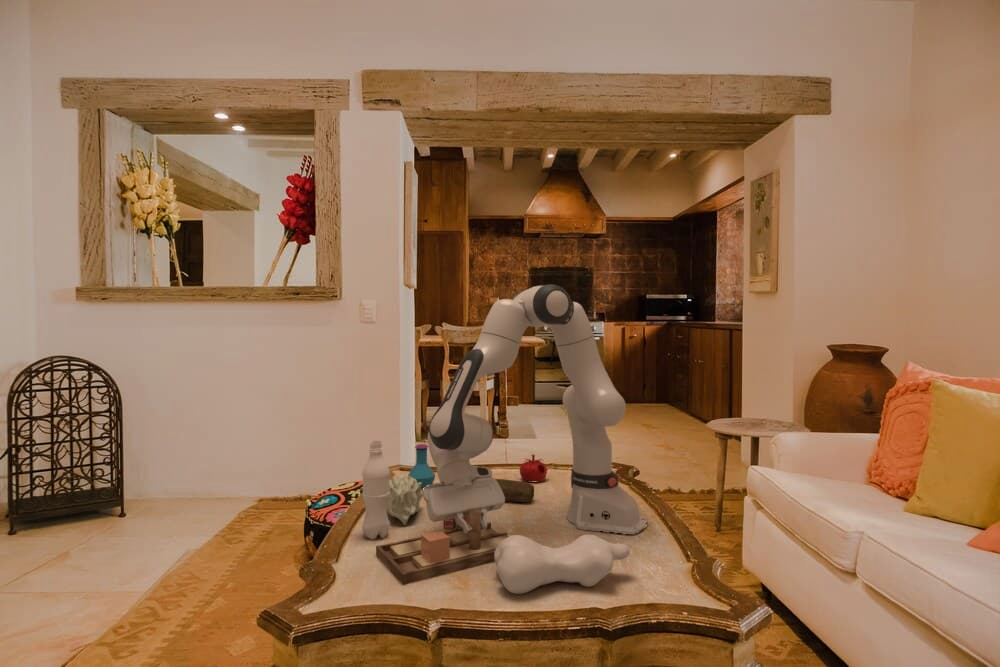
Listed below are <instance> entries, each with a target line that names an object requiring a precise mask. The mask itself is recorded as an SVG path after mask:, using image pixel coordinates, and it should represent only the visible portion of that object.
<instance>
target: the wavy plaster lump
mask: <svg viewBox="0 0 1000 667" xmlns="http://www.w3.org/2000/svg"><path fill="white" fill-rule="evenodd" d="M421 485H422V482H419V483H417V481H416V479H414V478H412V477H410V476H408V475H405V474H404V476H403V477H400V476H398V475H396V474H395V475H393V476H392V478H391V479H390V478H389V491H390V497H389V500H388V504H387V514H388V515H389V516H391V517H393V518H397V519H398V520H399V521H400V522H401V523H402V524H403V526H407V524H408V521H409V519H410V516H413V515H414V514H415V513H418V512H419V509H420V508H419V507H420V501H421V499H422V497H423V494H422V491H421Z"/></svg>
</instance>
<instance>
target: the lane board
mask: <svg viewBox="0 0 1000 667" xmlns="http://www.w3.org/2000/svg"><path fill="white" fill-rule="evenodd" d="M486 523H487V528H486V529H487V530H489V531H491V532H492V533H494V535H491V536H487V537H482V538H481V541H482V540H486V539H491V538H495V537H499V536H504V535H508V536H509V534H508V532H506V531H505V532H498V531H497V530H495V529H493V528H492V522H486ZM459 531H463V528H460V529H450V530H447V531H443V532H444V533H445V534H450V533H454V532H459ZM417 540H421V536H417V537H414V538H409V539H405V540H404V539H403V540H399V541H395V542H391V543H386V544H380V545H376V546H375V551H376V552H375V555H376V557H377V558H378V559H379V560H380V561H381V562H382V564H384V565H385V567H386V568H387V569H388V570H389V571H390V573H392V574H393V575H394V576H395V578H396V579H397V580H398V581H399V582H400V583H401V584H402V585H407V584H411V583H415V582H420V581H424V580H427V579H432V578H435V577H439V576H443V575H447V574H452V573H454V572H458V571H463V570H466V569H471V568H474V567H478V566H481V565H486V564H491V563H493V562H495V560H494V553H495V550H493V551H489V552H485V553H481V554H477V555H473V556H469V557H465V558H461V559H456V560H452V561H448V562H444V563H440V564H436V565H432V566H428V567H424V568H420V569H419V568H418V567H417V566H416V565H415V564H414V563H413V562H412V557H413V556H417V555H421V552H416V553H412V554H407V555H403V556H399V557H395V556H394V555H393V554H392V553H391V552H390V546H394V545H399V544H403V543H408V542H413V541H417ZM465 544H469V541H465V542H460V543H456V544H451V543H450V548H452V547H456V546H460V545H465Z"/></svg>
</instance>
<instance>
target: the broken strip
mask: <svg viewBox="0 0 1000 667" xmlns="http://www.w3.org/2000/svg"><path fill="white" fill-rule="evenodd" d="M446 535H448V536H449V537H450V543H451V544H456V543H460V542H465V541H469V533H464V531H459V532H454V533H450V534H446ZM491 535H494V533H492V532H491V531H489V530H487V529H483V530H481V538H482V537H487V536H491ZM390 552H391V553H392V554H393V555H394V556H395V557H399V556H403V555H407V554H412V553H416V552H421V540H417V541H413V542H408V543H403V544H399V545H394V546H390Z"/></svg>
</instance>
